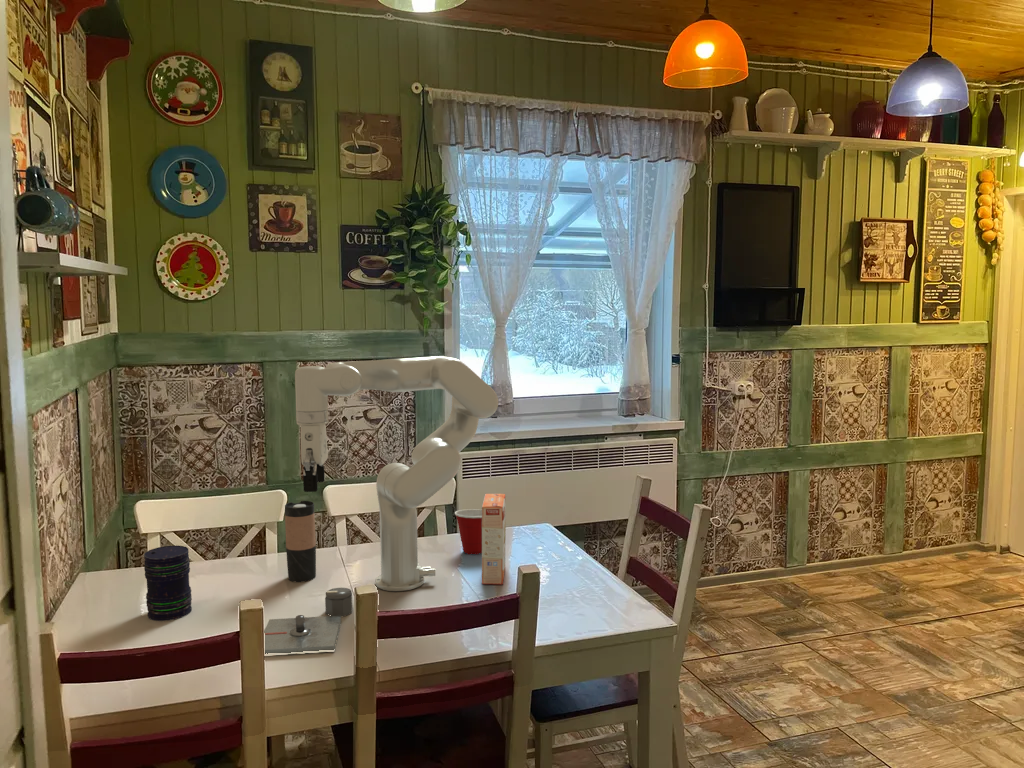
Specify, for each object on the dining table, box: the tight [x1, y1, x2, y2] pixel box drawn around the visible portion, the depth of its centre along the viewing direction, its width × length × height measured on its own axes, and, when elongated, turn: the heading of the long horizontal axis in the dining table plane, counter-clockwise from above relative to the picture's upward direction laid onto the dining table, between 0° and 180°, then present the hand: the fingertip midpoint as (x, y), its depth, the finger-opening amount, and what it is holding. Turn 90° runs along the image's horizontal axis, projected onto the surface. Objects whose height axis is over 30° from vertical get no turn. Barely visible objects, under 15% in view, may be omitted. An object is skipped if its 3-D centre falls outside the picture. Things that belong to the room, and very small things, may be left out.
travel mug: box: [284, 500, 317, 583], centre depth 211 cm, size 8×8×20 cm
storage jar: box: [143, 545, 193, 622], centre depth 188 cm, size 10×10×15 cm
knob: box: [324, 587, 353, 617], centre depth 188 cm, size 6×6×5 cm
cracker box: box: [481, 493, 507, 585], centre depth 211 cm, size 14×6×21 cm, turn 178°
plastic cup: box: [454, 508, 482, 555], centre depth 232 cm, size 11×11×12 cm
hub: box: [264, 614, 342, 654], centre depth 174 cm, size 16×16×5 cm
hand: (314, 486), depth 194 cm, fingers open, 9 cm apart
